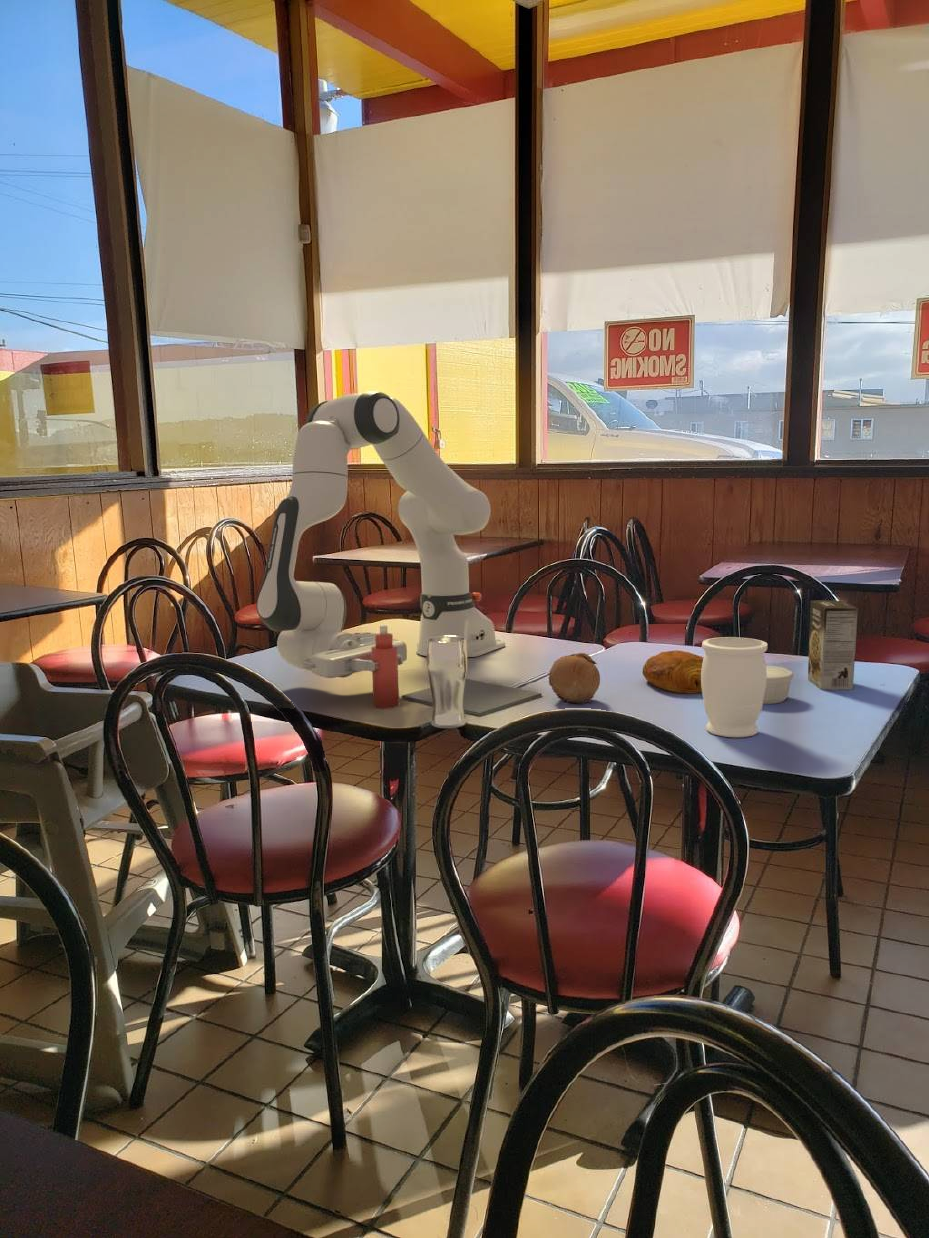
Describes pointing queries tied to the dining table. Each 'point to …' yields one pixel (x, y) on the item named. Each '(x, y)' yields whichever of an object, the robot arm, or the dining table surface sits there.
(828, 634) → the coffee box
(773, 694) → the ramekin
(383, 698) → the bottle
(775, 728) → the dining table surface
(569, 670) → the brown round fruit
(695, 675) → the croissant
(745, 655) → the jar
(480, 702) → the mat
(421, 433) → the robot arm
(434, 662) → the beer glass
